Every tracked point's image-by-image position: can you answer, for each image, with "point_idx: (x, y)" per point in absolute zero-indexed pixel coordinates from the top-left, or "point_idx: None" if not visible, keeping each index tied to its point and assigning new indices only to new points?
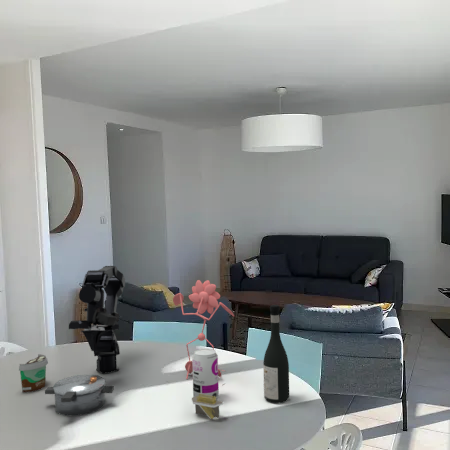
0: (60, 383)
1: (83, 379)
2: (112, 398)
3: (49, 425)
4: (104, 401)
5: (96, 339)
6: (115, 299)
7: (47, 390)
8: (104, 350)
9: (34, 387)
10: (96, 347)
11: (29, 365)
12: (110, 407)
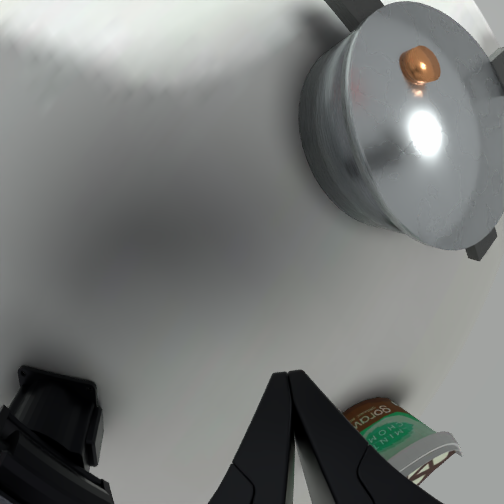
0: (491, 201)
1: (430, 140)
2: (265, 65)
3: None
4: (331, 48)
5: (285, 493)
6: None
7: (494, 227)
8: (60, 465)
9: (386, 403)
10: (269, 396)
11: (451, 445)
12: (328, 15)
